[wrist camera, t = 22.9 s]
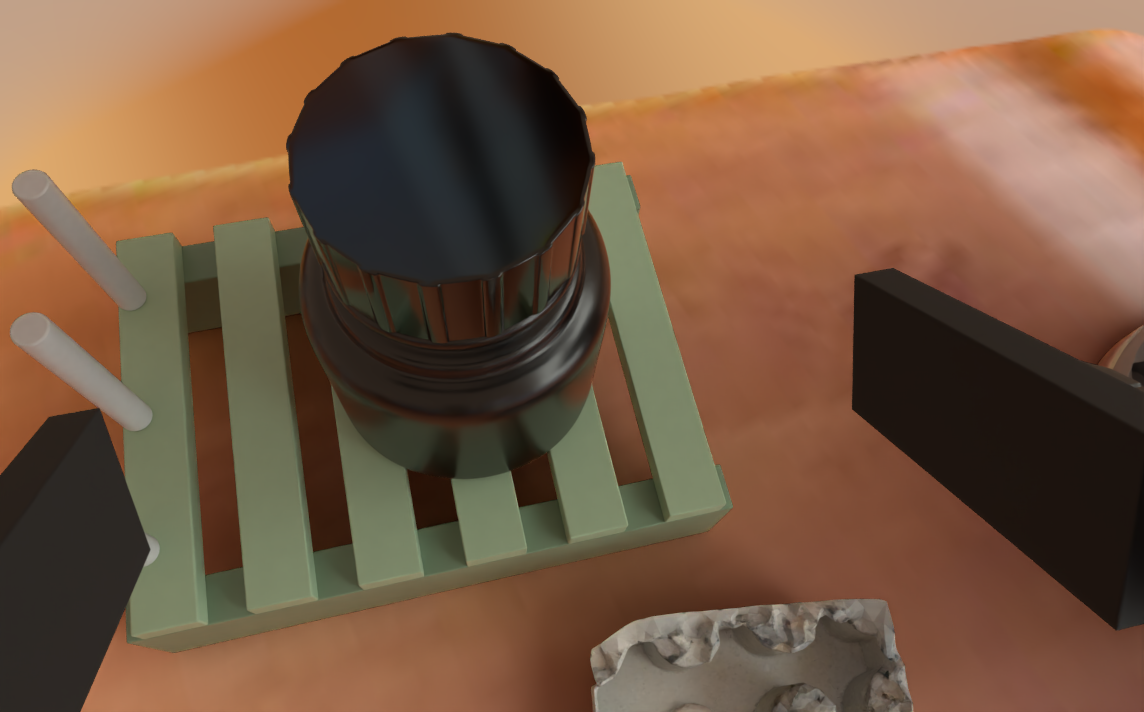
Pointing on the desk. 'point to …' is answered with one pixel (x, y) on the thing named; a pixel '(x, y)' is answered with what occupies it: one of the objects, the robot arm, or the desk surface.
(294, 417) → the drying rack
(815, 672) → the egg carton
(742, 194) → the desk surface
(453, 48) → the ink bottle
